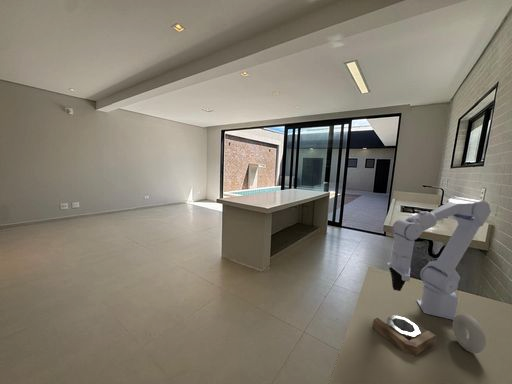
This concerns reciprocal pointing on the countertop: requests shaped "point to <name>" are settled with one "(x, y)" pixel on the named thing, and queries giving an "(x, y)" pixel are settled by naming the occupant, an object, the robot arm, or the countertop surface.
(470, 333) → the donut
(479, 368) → the countertop surface
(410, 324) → the ring
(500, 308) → the countertop surface
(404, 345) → the vee stop
